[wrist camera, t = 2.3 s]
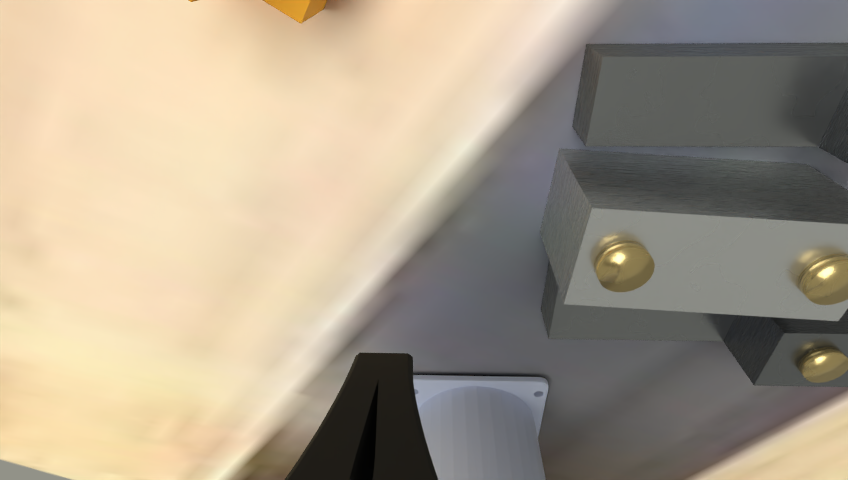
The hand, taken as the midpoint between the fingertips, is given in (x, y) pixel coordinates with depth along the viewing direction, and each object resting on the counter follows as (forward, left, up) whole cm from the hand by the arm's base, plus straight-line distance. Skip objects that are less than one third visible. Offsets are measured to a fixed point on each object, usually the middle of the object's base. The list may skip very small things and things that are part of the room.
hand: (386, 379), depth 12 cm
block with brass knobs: (0, -11, -10) cm, 15 cm away
